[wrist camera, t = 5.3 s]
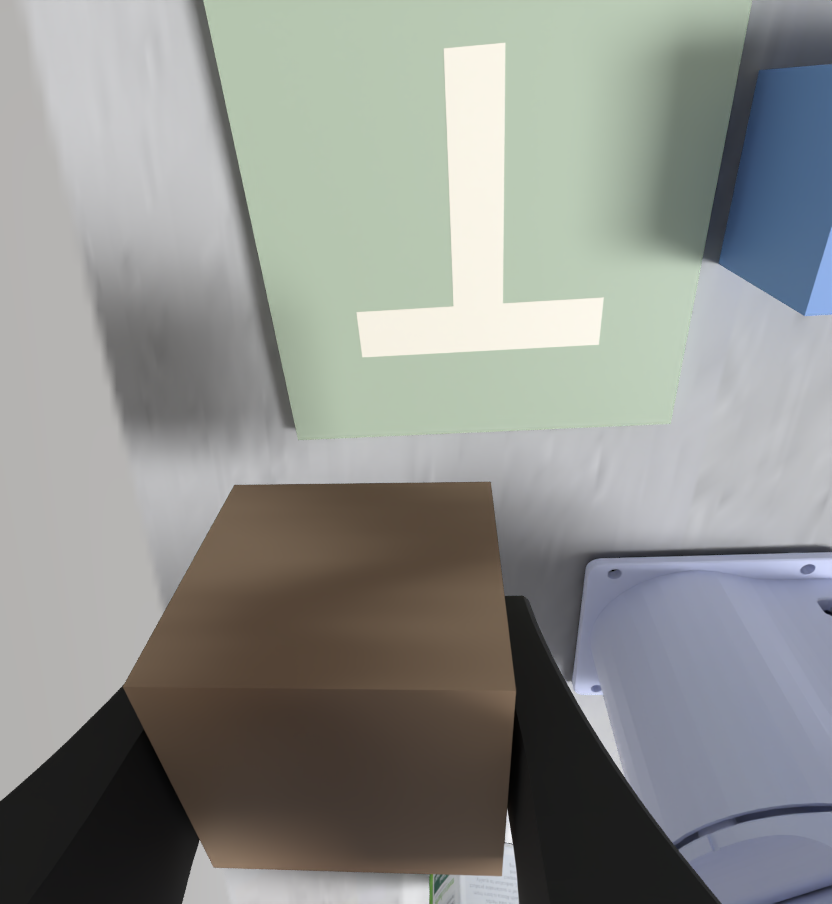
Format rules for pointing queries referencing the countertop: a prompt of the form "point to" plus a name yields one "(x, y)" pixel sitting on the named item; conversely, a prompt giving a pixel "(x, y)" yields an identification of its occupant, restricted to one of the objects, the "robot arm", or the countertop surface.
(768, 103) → the blue cube
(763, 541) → the countertop surface
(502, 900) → the syrup box
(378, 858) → the walnut block
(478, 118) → the board
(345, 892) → the countertop surface
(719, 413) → the countertop surface
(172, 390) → the countertop surface
